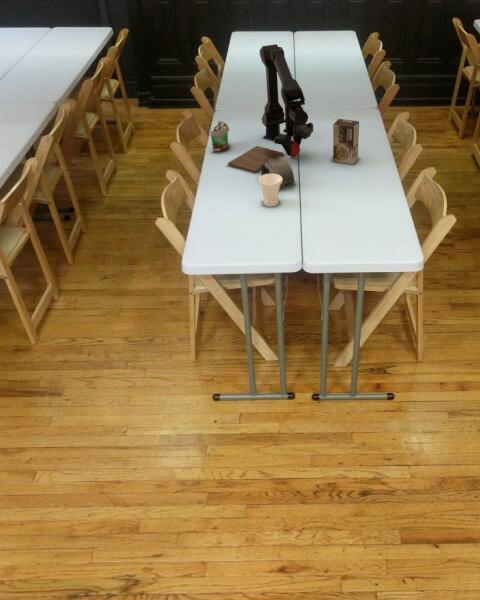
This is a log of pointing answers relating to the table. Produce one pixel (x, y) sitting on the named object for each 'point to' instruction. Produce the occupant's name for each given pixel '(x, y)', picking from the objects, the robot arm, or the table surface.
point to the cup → (270, 188)
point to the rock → (278, 169)
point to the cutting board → (254, 159)
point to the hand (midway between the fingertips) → (293, 153)
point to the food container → (220, 137)
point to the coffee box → (345, 141)
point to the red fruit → (295, 149)
